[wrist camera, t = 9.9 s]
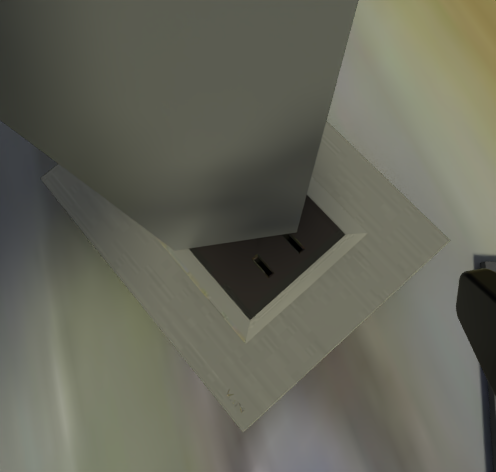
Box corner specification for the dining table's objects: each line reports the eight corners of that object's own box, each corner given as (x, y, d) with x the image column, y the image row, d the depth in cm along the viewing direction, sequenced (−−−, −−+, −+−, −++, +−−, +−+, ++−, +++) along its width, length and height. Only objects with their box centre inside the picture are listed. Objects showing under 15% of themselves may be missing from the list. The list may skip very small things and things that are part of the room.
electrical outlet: (64, 192, 20) (35, 175, 17) (232, 54, 21) (226, 19, 18) (247, 419, 17) (242, 434, 15) (430, 249, 18) (453, 239, 16)
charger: (296, 232, 16) (390, -119, 3) (174, 250, 16) (-189, -22, 3) (280, 134, 17) (303, -443, 4) (164, 152, 17) (-157, -354, 4)
